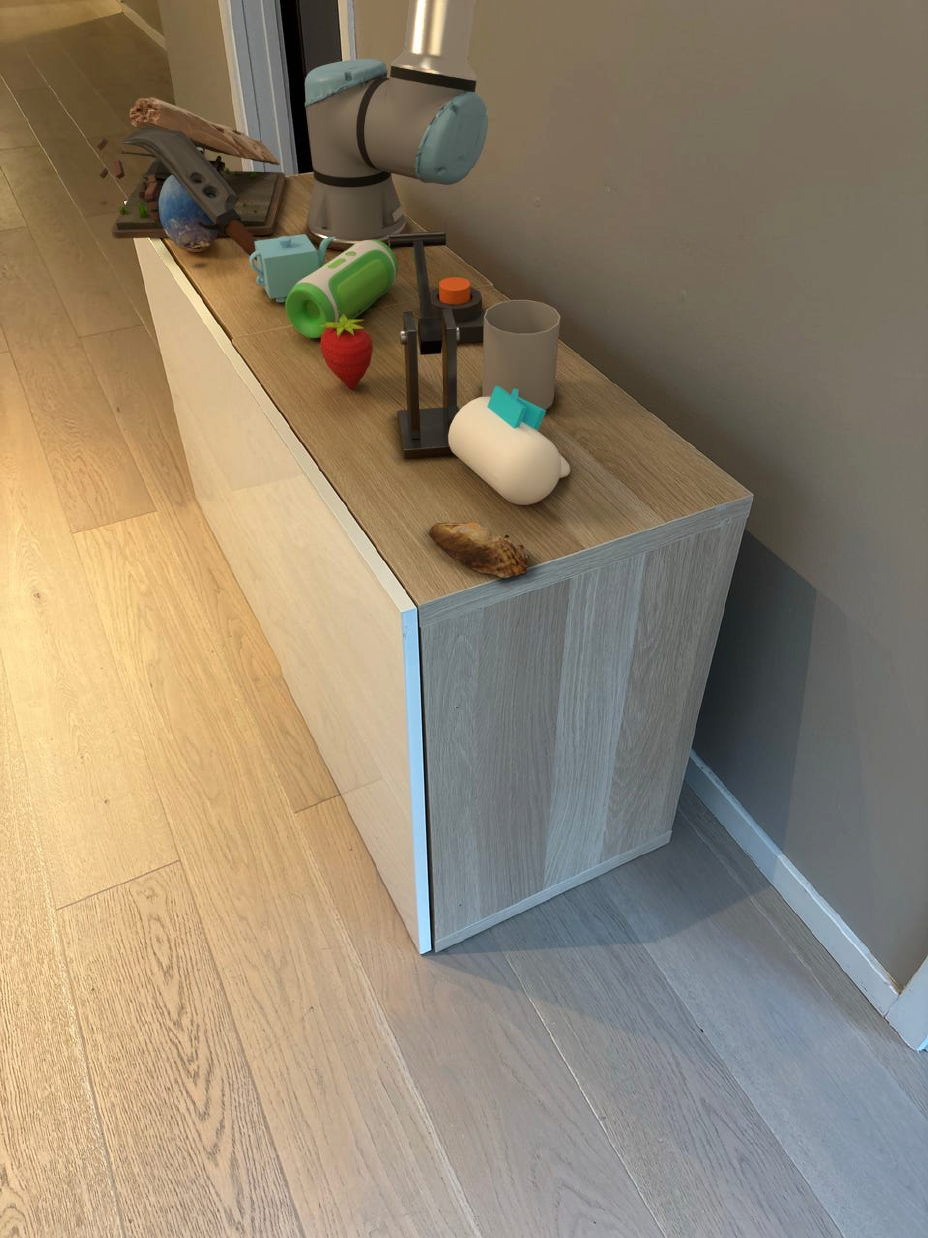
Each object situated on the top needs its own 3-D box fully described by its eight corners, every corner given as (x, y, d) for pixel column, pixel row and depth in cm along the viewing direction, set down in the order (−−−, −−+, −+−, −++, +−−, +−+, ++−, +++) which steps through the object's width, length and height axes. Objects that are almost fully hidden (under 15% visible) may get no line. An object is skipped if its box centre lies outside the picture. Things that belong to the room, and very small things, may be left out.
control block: (424, 309, 126) (423, 281, 123) (475, 306, 126) (475, 278, 124) (432, 345, 119) (432, 315, 116) (487, 341, 119) (487, 311, 117)
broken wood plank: (264, 172, 164) (270, 142, 163) (307, 184, 157) (313, 152, 156) (114, 123, 143) (119, 88, 142) (156, 134, 136) (161, 97, 134)
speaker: (358, 283, 131) (354, 230, 126) (403, 294, 129) (400, 240, 124) (285, 335, 120) (277, 279, 115) (333, 348, 118) (327, 291, 113)
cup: (548, 419, 106) (554, 338, 99) (477, 411, 107) (478, 330, 100) (557, 382, 112) (564, 303, 105) (490, 375, 113) (492, 296, 106)
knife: (252, 291, 128) (117, 132, 130) (251, 300, 131) (119, 144, 132) (302, 264, 132) (170, 109, 134) (300, 274, 134) (170, 122, 136)
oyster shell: (476, 492, 91) (541, 547, 86) (469, 523, 93) (533, 579, 88) (427, 504, 88) (492, 562, 82) (421, 537, 90) (484, 595, 85)
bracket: (397, 419, 106) (391, 303, 96) (458, 415, 107) (458, 299, 97) (404, 459, 100) (398, 340, 91) (468, 454, 101) (469, 335, 91)
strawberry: (333, 408, 108) (324, 327, 101) (319, 377, 113) (309, 297, 106) (382, 399, 109) (377, 318, 102) (366, 369, 114) (360, 290, 107)
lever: (388, 243, 100) (388, 227, 97) (444, 240, 100) (445, 224, 98) (401, 356, 95) (401, 342, 93) (459, 352, 96) (461, 338, 94)
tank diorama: (286, 178, 161) (277, 110, 154) (272, 234, 144) (261, 161, 136) (123, 182, 161) (106, 114, 153) (89, 239, 143) (68, 165, 135)
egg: (243, 264, 138) (223, 177, 141) (203, 238, 130) (182, 147, 133) (198, 290, 141) (180, 205, 144) (157, 267, 134) (138, 177, 137)
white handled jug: (539, 430, 85) (468, 375, 93) (504, 516, 90) (439, 456, 97) (624, 439, 93) (552, 387, 100) (587, 518, 97) (521, 462, 105)
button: (437, 293, 121) (437, 277, 120) (467, 291, 122) (468, 276, 120) (441, 306, 118) (441, 291, 117) (472, 304, 119) (472, 289, 117)
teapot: (333, 275, 133) (328, 222, 128) (345, 293, 129) (340, 238, 124) (250, 288, 130) (241, 234, 125) (260, 307, 126) (251, 251, 120)
